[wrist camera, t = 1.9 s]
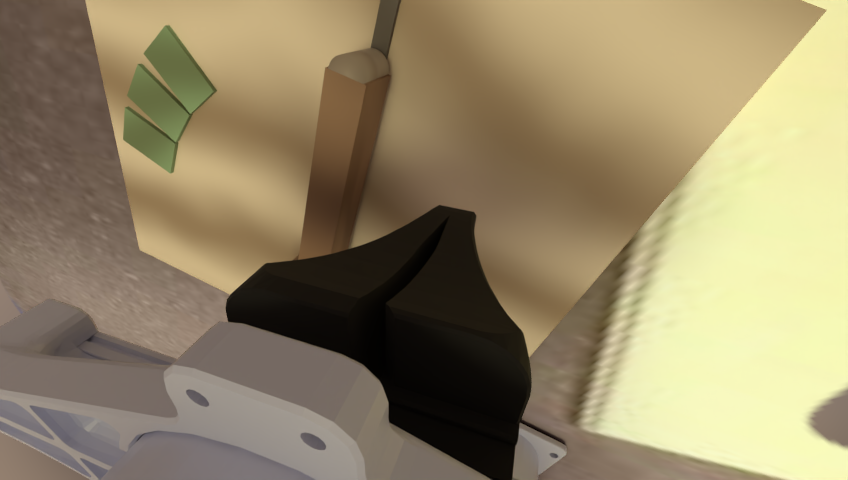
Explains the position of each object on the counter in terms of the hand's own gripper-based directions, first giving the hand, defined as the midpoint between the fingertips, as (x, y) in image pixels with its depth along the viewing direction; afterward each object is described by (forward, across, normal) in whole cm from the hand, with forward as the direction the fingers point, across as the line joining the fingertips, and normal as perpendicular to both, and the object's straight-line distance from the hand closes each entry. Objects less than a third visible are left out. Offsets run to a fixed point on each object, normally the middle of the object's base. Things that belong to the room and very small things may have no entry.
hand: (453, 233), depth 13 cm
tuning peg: (+2, +5, +1) cm, 6 cm away
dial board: (+4, +6, 0) cm, 7 cm away
